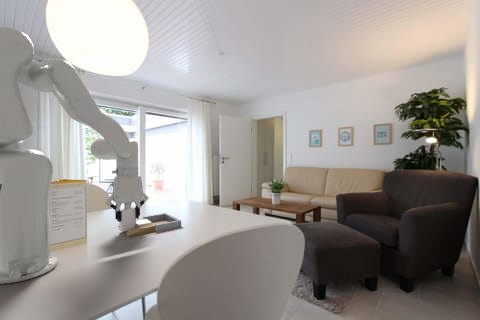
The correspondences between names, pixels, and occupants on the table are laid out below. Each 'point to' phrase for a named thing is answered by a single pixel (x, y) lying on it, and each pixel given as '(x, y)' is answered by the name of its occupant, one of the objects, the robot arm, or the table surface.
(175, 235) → the table surface
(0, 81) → the robot arm
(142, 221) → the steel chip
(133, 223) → the eye dropper bottle
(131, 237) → the slotted board
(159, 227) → the grey tray
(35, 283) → the table surface
